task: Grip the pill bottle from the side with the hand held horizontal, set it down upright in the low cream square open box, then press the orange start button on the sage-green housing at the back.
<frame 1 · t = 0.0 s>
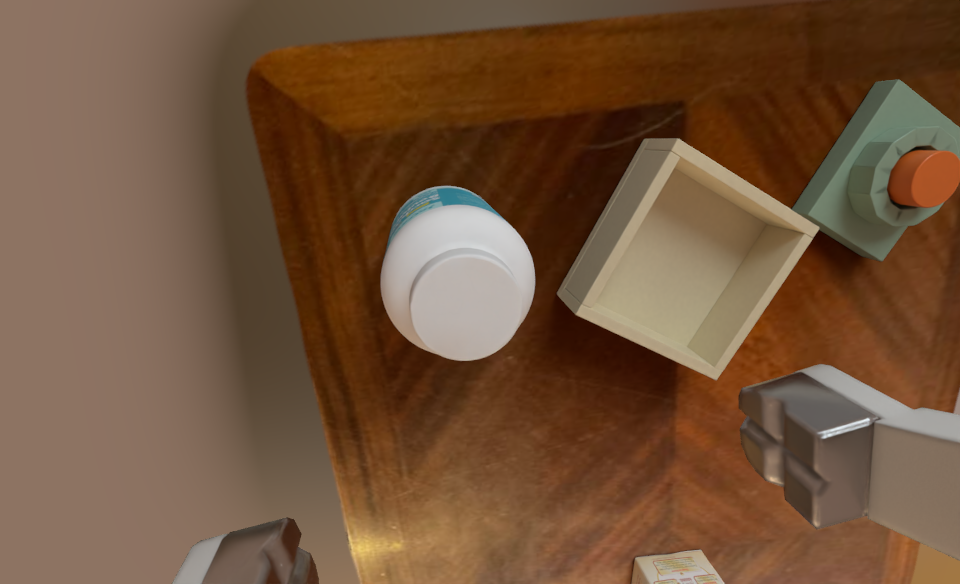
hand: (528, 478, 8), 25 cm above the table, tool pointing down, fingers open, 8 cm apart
cream square open box: (665, 255, 34), on the table
start button: (923, 178, 31), point 4 cm above the table, slide at 0.1 cm
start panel: (868, 174, 35), on the table
pill bottle: (444, 240, 32), on the table
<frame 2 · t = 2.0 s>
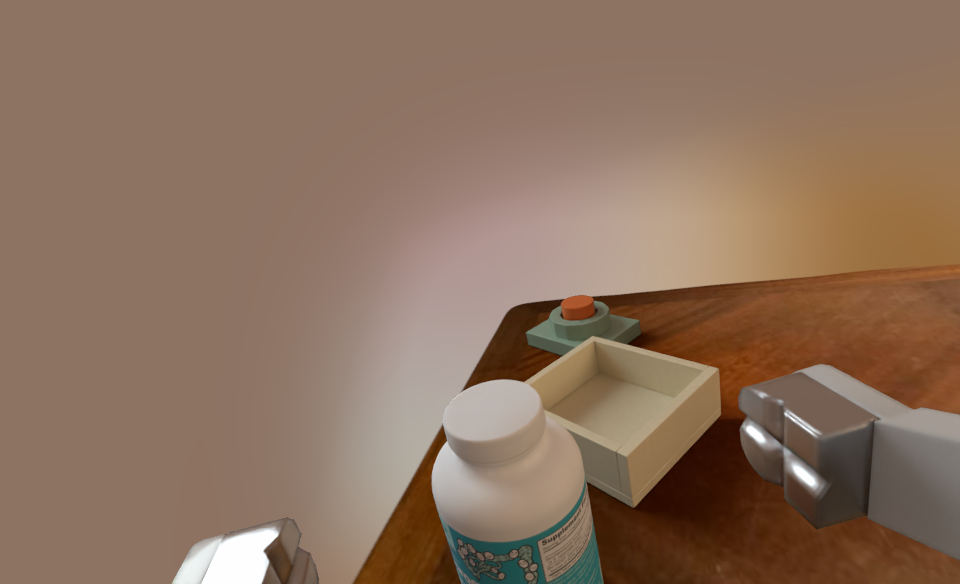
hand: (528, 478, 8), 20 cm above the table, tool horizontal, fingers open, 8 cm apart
cream square open box: (612, 427, 39), on the table
start button: (578, 308, 53), point 4 cm above the table, slide at 0.1 cm
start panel: (583, 339, 54), on the table
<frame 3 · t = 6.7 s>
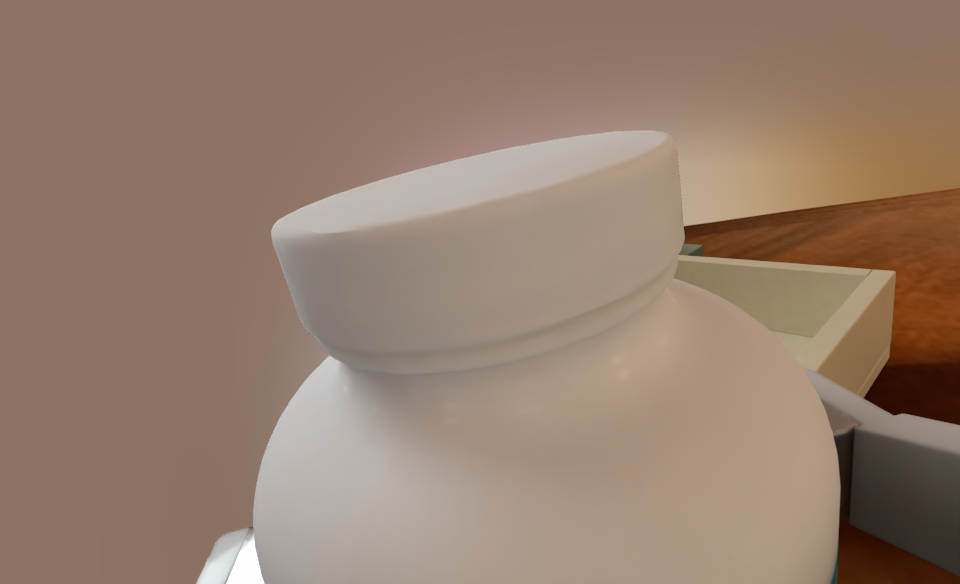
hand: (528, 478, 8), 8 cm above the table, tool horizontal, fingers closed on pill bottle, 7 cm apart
cream square open box: (693, 384, 23), on the table
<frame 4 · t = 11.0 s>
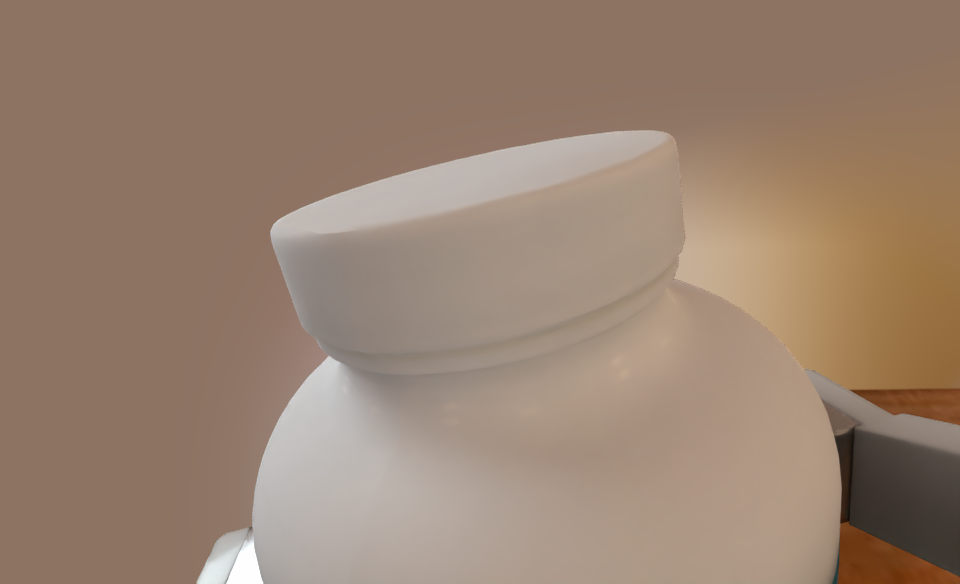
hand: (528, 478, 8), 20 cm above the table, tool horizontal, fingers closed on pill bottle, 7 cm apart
when the fingers open (9 cm above the table, at t = 15.2 s): pill bottle stays where it is, resting on cream square open box.
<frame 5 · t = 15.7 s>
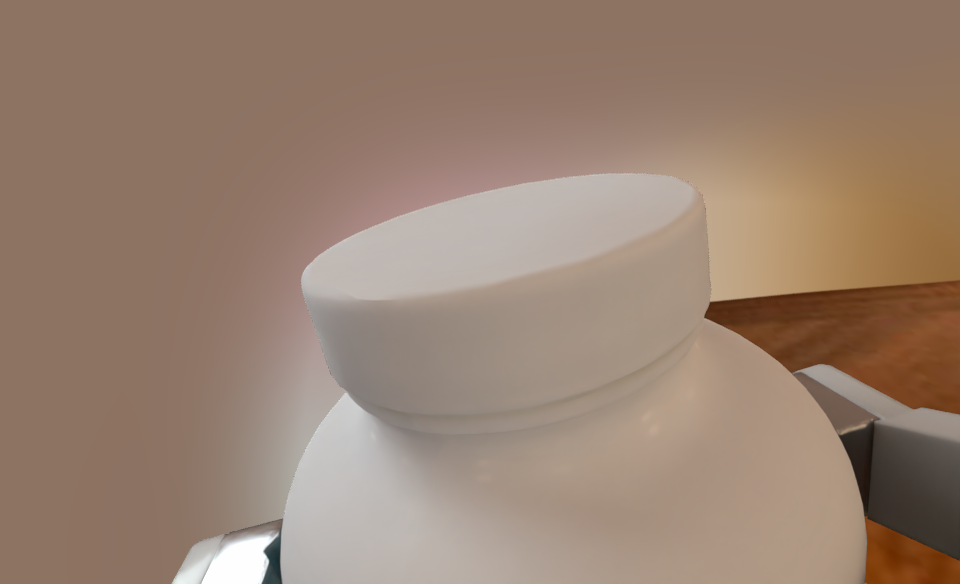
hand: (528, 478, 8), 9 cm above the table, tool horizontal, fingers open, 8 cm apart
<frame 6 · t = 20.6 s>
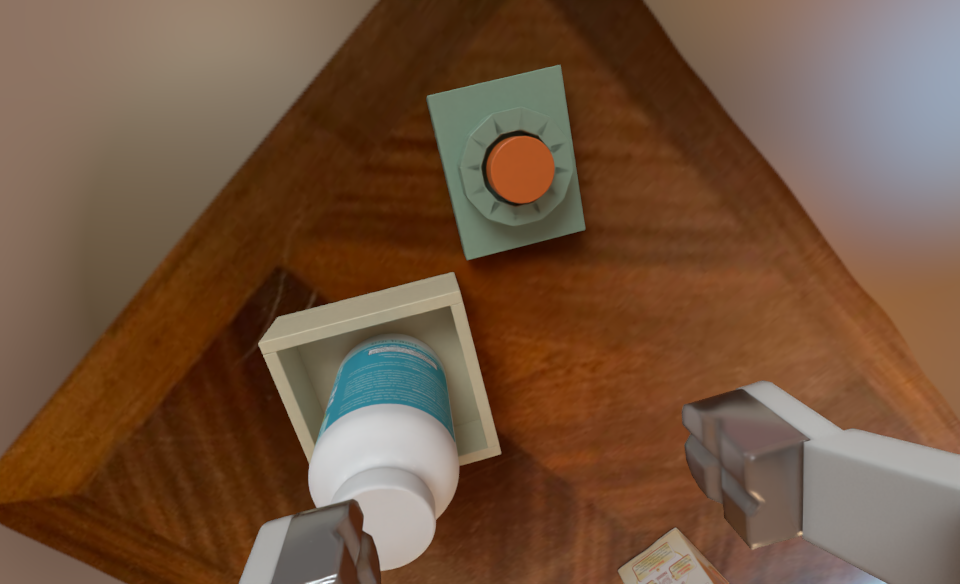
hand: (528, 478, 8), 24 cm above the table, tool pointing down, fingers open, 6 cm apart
cream square open box: (391, 371, 34), on the table
start button: (519, 169, 27), point 4 cm above the table, slide at 0.1 cm
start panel: (506, 165, 30), on the table
pill bottle: (392, 377, 33), point 1 cm above the table, touching cream square open box
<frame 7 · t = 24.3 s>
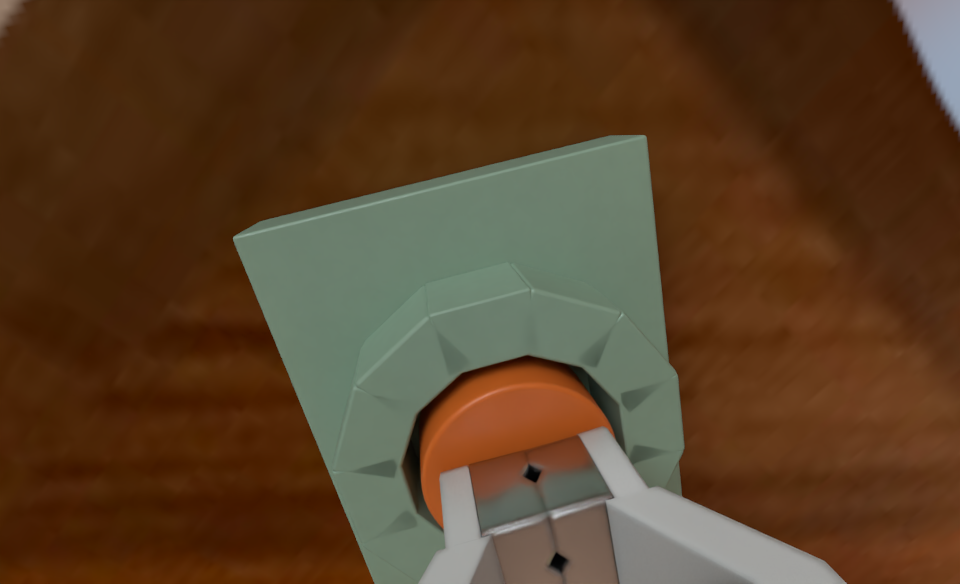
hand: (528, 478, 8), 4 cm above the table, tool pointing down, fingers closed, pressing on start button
start button: (512, 444, 9), point 3 cm above the table, slide at -0.9 cm, touching gripper
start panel: (488, 372, 12), on the table
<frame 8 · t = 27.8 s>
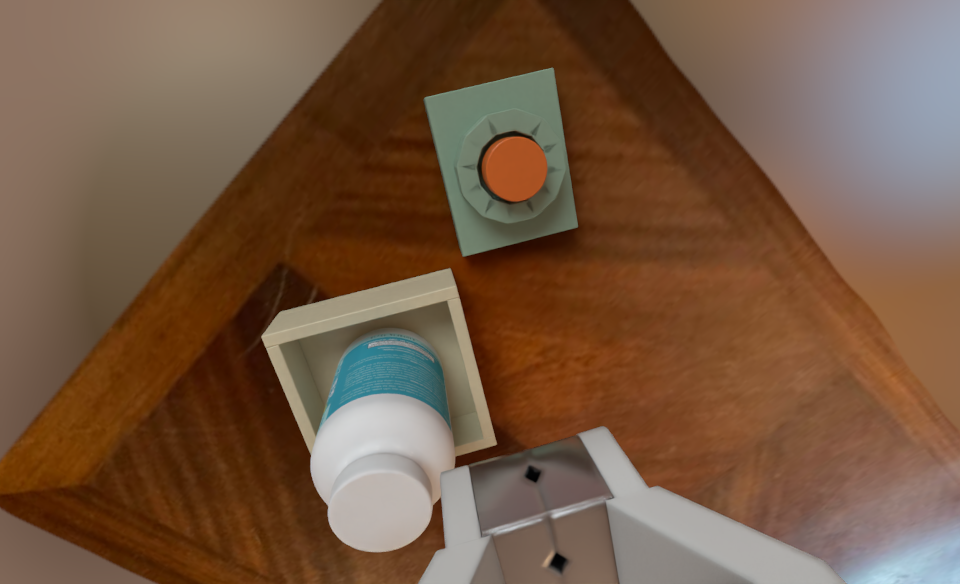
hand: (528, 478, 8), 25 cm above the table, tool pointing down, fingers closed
cream square open box: (390, 365, 35), on the table
start button: (513, 168, 28), point 4 cm above the table, slide at 0.1 cm
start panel: (501, 165, 31), on the table
pill bottle: (391, 370, 34), point 1 cm above the table, touching cream square open box
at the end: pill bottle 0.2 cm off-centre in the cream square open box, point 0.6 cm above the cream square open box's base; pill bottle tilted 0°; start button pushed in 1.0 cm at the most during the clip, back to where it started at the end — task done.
